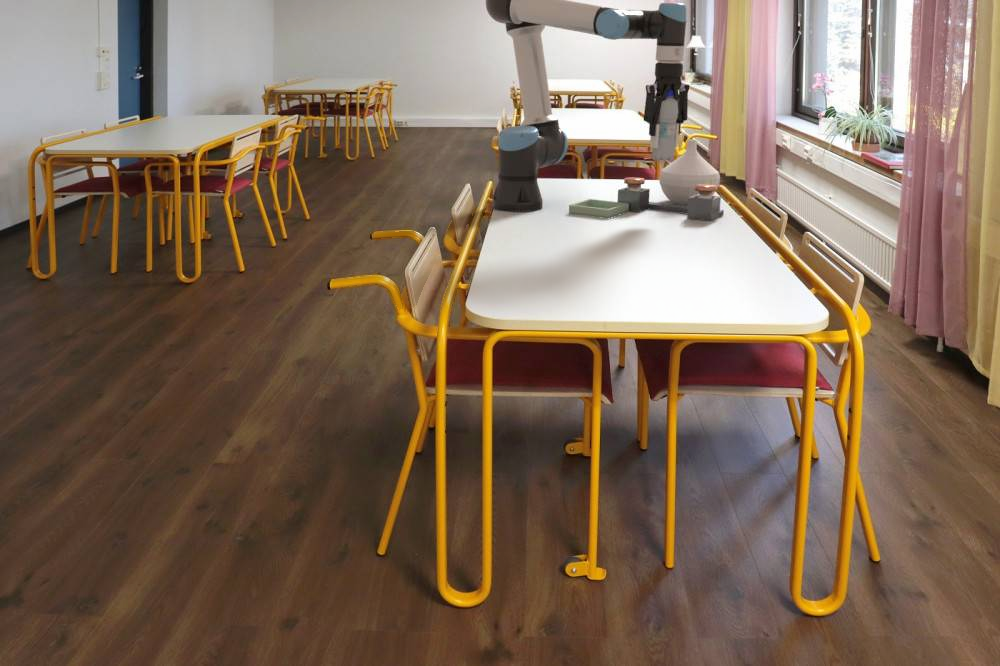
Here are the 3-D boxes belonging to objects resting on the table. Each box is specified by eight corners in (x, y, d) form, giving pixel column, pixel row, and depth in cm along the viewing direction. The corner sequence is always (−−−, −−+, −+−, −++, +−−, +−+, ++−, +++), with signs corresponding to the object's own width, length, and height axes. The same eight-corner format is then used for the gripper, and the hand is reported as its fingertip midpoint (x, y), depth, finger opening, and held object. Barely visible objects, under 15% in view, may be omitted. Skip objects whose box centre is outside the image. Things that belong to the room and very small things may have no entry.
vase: (651, 197, 310) (655, 136, 304) (707, 197, 312) (711, 136, 306) (666, 208, 293) (671, 143, 287) (725, 207, 294) (731, 143, 289)
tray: (568, 213, 282) (569, 205, 281) (589, 207, 293) (589, 198, 292) (609, 218, 276) (609, 209, 275) (628, 211, 286) (629, 203, 285)
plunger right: (689, 215, 277) (691, 186, 275) (697, 211, 282) (699, 183, 280) (709, 217, 274) (712, 188, 272) (717, 214, 279) (719, 185, 277)
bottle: (666, 163, 271) (671, 89, 265) (646, 160, 275) (650, 88, 269) (679, 161, 276) (684, 88, 270) (659, 158, 280) (663, 87, 274)
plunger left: (619, 206, 288) (620, 179, 286) (628, 203, 293) (629, 176, 291) (638, 209, 285) (639, 181, 283) (646, 206, 290) (648, 178, 288)
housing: (617, 210, 289) (618, 189, 287) (631, 204, 297) (633, 185, 295) (710, 221, 274) (712, 199, 272) (723, 215, 283) (725, 194, 281)
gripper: (649, 63, 260) (644, 150, 267) (705, 62, 268) (698, 147, 276) (632, 61, 266) (628, 147, 273) (688, 61, 275) (682, 144, 282)
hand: (663, 146), depth 274 cm, fingers closed on bottle, 6 cm apart
